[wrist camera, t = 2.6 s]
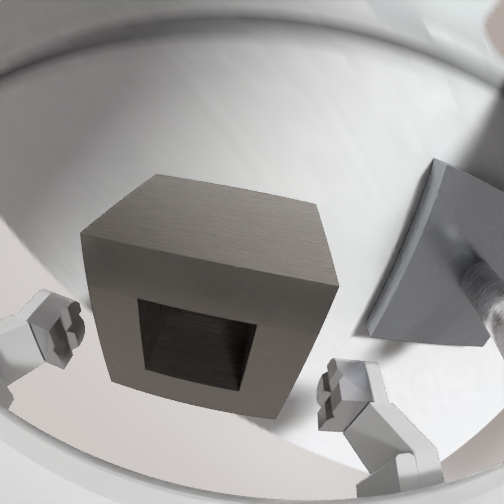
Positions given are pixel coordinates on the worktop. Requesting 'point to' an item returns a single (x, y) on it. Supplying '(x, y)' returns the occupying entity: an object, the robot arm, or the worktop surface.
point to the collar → (208, 292)
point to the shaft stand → (448, 267)
